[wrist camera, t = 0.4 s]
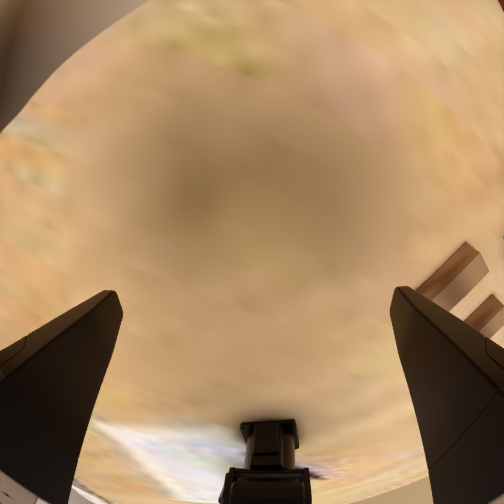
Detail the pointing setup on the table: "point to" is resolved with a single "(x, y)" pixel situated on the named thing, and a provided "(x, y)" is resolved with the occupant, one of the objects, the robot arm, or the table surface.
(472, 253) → the slot block
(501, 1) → the hanging shelf
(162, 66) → the table surface
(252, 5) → the table surface
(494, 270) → the table surface
